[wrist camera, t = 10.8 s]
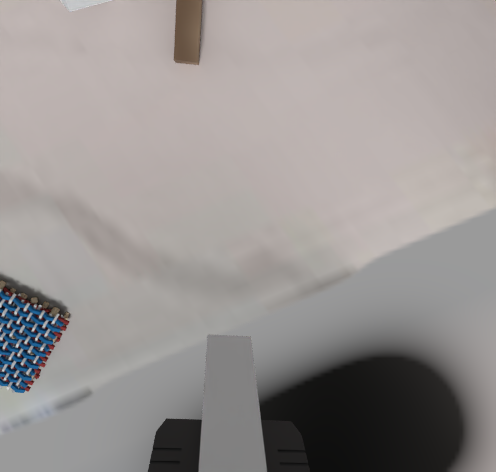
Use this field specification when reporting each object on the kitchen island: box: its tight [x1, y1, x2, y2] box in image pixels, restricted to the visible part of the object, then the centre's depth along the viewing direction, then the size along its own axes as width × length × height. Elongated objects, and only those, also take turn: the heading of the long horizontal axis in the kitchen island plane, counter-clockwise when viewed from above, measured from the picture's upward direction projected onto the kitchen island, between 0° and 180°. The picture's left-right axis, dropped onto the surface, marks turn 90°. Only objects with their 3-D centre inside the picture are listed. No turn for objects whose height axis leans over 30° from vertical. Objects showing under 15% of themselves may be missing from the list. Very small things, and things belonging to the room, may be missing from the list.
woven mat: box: [0, 281, 69, 393], centre depth 43 cm, size 10×11×2 cm
